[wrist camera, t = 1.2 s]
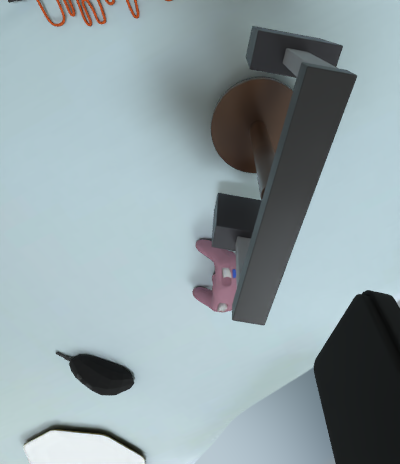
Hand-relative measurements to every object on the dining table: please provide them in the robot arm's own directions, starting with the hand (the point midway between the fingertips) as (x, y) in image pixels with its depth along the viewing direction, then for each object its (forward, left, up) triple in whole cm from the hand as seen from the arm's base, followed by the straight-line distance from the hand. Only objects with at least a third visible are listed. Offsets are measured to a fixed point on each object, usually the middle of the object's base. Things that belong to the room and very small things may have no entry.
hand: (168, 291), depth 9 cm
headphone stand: (-6, +4, -32) cm, 33 cm away
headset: (-6, +4, -28) cm, 29 cm away
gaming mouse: (+12, +51, -32) cm, 61 cm away
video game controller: (-5, +24, -32) cm, 40 cm away
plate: (+14, +86, -32) cm, 93 cm away
